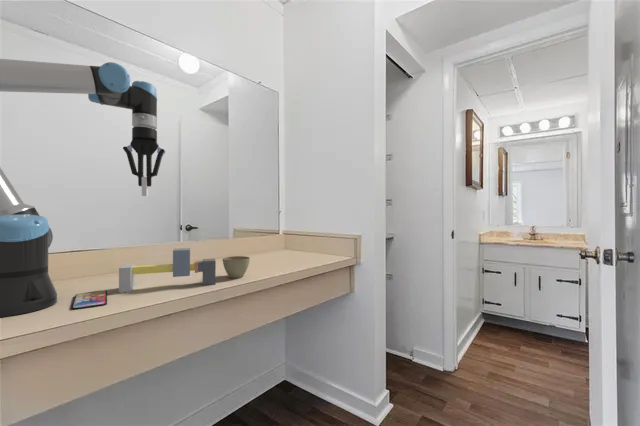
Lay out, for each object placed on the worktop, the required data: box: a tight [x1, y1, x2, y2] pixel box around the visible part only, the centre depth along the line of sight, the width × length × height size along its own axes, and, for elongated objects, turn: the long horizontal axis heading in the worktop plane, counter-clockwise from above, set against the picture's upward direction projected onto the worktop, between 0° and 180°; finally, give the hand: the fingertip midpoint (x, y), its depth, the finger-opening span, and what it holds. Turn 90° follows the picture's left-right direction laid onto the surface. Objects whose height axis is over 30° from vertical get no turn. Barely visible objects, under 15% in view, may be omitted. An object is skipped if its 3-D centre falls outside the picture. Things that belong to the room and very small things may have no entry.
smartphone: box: [71, 290, 108, 311], centre depth 83 cm, size 7×1×15 cm
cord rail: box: [118, 258, 217, 294], centre depth 98 cm, size 28×7×8 cm, turn 113°
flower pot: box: [222, 255, 251, 279], centre depth 113 cm, size 10×10×7 cm
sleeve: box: [172, 247, 191, 278], centre depth 100 cm, size 5×5×8 cm
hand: (144, 195), depth 105 cm, fingers closed
